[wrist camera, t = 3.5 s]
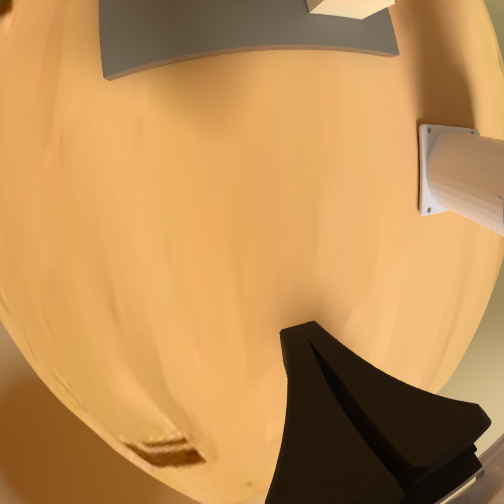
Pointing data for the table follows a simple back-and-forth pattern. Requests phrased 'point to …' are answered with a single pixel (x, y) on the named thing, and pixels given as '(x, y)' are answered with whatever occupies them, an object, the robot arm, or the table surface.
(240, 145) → the table surface
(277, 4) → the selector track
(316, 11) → the selector knob
